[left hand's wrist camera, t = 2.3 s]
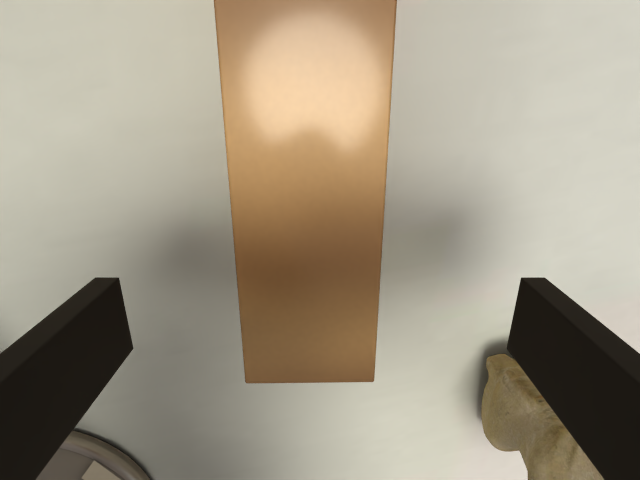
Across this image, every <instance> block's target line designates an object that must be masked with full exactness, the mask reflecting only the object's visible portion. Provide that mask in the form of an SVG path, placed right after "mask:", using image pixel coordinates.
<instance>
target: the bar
mask: <svg viewBox="0 0 640 480" xmlns="http://www.w3.org/2000/svg"><path fill="white" fill-rule="evenodd" d="M396 6H397V0H214V8H215V20H216V32H217V44H218V56H219V69H220V81H221V93H222V105H223V117H224V129H225V141H226V153H227V165H228V177H229V189H230V201H231V213H232V225H233V237H234V249H235V261H236V274H237V286H238V298H239V310H240V322H241V334H242V346H243V358H244V370H245V382H246V383H316V382H373V381H374V373H375V356H376V340H377V323H378V306H379V290H380V273H381V256H382V240H383V223H384V206H385V190H386V173H387V156H388V140H389V123H390V106H391V90H392V73H393V56H394V40H395V23H396Z"/></svg>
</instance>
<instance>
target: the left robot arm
mask: <svg viewBox="0 0 640 480" xmlns="http://www.w3.org/2000/svg"><path fill="white" fill-rule="evenodd" d="M132 350H133V345H132V340H131V335H130V330H129V325H128V320H127V315H126V311H125V306H124V301H123V296H122V291H121V286H120V281H119V278H94V279H93V280H92V281H91V282H89V283H88V284H87V285H86V286H84V287H83V288H82V289H81V290H79V291H78V292H77V293H76V294H74V295H73V296H72V297H71V298H69V299H68V300H67V301H66V302H64V303H63V304H62V305H61V306H59V307H58V308H57V309H56V310H54V311H53V312H52V313H51V314H49V315H48V316H47V317H46V318H44V319H43V320H42V321H41V322H39V323H38V324H37V325H36V326H34V327H33V328H32V329H31V330H29V331H28V332H27V333H26V334H24V335H23V336H22V337H21V338H19V339H18V340H17V341H16V342H14V343H13V344H12V345H11V346H9V347H8V348H7V349H6V350H4V351H3V352H2V353H1V354H0V480H150V479H149V477H148V476H147V475H146V473H145V472H144V471H143V470H142V469H141V468H140V467H139V466H138V465H137V464H136V463H135V462H134V461H133V460H132V459H131V458H129V457H128V456H127V455H126V454H124V453H123V452H121V451H120V450H118V449H116V448H115V447H113V446H111V445H109V444H108V443H105V442H103V441H101V440H99V439H97V438H94V437H92V436H89V435H86V434H83V433H80V432H76V431H72V430H73V429H74V427H75V426H76V425H77V423H78V422H79V421H80V419H81V418H82V417H83V415H84V414H85V413H86V411H87V410H88V409H89V407H90V406H91V405H92V403H93V402H94V401H95V399H96V398H97V397H98V395H99V394H100V393H101V391H102V390H103V388H104V387H105V386H106V384H107V383H108V382H109V380H110V379H111V378H112V376H113V375H114V374H115V372H116V371H117V370H118V368H119V367H120V366H121V364H122V363H123V362H124V360H125V359H126V358H127V356H128V355H129V354H130V352H131V351H132ZM507 350H508V351H509V352H510V354H511V355H512V356H513V358H514V359H515V360H516V362H517V363H518V364H519V366H520V367H521V368H522V370H523V371H524V372H525V374H526V375H527V376H528V378H529V379H530V380H531V382H532V383H533V384H534V386H535V387H536V388H537V390H538V391H539V393H540V394H541V395H542V397H543V398H544V399H545V401H546V402H547V403H548V405H549V406H550V407H551V409H552V410H553V411H554V413H555V414H556V415H557V417H558V418H559V419H560V421H561V422H562V423H563V425H564V426H565V427H566V429H567V430H568V431H569V433H570V434H571V436H572V437H573V438H574V440H575V441H576V442H577V444H578V445H579V446H580V448H581V449H582V450H583V452H584V453H585V454H586V456H587V457H588V458H589V460H590V461H591V462H592V464H593V465H594V466H595V468H596V469H597V470H598V472H599V473H600V474H601V476H602V477H603V479H604V480H640V354H639V353H638V352H637V351H636V350H634V349H633V348H632V347H631V346H629V345H628V344H627V343H626V342H624V341H623V340H622V339H621V338H619V337H618V336H617V335H616V334H614V333H613V332H612V331H611V330H609V329H608V328H607V327H606V326H604V325H603V324H602V323H601V322H599V321H598V320H597V319H596V318H594V317H593V316H592V315H591V314H589V313H588V312H587V311H586V310H584V309H583V308H582V307H581V306H579V305H578V304H577V303H576V302H574V301H573V300H572V299H571V298H569V297H568V296H567V295H566V294H564V293H563V292H562V291H561V290H559V289H558V288H557V287H556V286H554V285H553V284H552V283H551V282H549V281H548V280H547V279H546V278H521V281H520V286H519V291H518V296H517V301H516V306H515V311H514V315H513V320H512V325H511V330H510V335H509V340H508V345H507Z"/></svg>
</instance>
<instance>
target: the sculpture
mask: <svg viewBox="0 0 640 480" xmlns="http://www.w3.org/2000/svg"><path fill="white" fill-rule="evenodd" d="M486 368H487V370H488V373H489V379H488V382H487V384H486V386H485V389H484V394H483V398H482V408H481V417H482V424H483V429H484V433H485V435H486V437H487V439H488V440H489V442H490V443H491V444H492V445H493V446H494V447H495V448H497V449H499V450H501V451H518V450H519V451H520V453H521V455H522V457H523V460H524V463H525V465H526V468H527V470H528V480H604V479H603V477H602V476H601V474H600V473H599V472H598V470H597V469H596V468H595V466H594V465H593V464H592V462H591V461H590V460H589V458H588V457H587V456H586V454H585V453H584V452H583V450H582V449H581V448H580V446H579V445H578V444H577V442H576V441H575V440H574V438H573V437H572V436H571V434H570V433H569V431H568V430H567V429H566V427H565V426H564V425H563V423H562V422H561V421H560V419H559V418H558V417H557V415H556V414H555V413H554V411H553V410H552V409H551V407H550V406H549V405H548V403H547V402H546V401H545V399H544V398H543V397H542V395H541V394H540V393H539V391H538V390H537V388H536V387H535V386H534V384H533V383H532V382H531V380H530V379H529V378H528V376H527V375H526V374H525V372H524V371H523V370H522V368H521V367H520V366H519V364H518V363H517V362H516V360H515V359H512V358H511V357H509V356H507V355H506V354H497V355H493V356H490V357H488V358H487V362H486Z"/></svg>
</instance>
